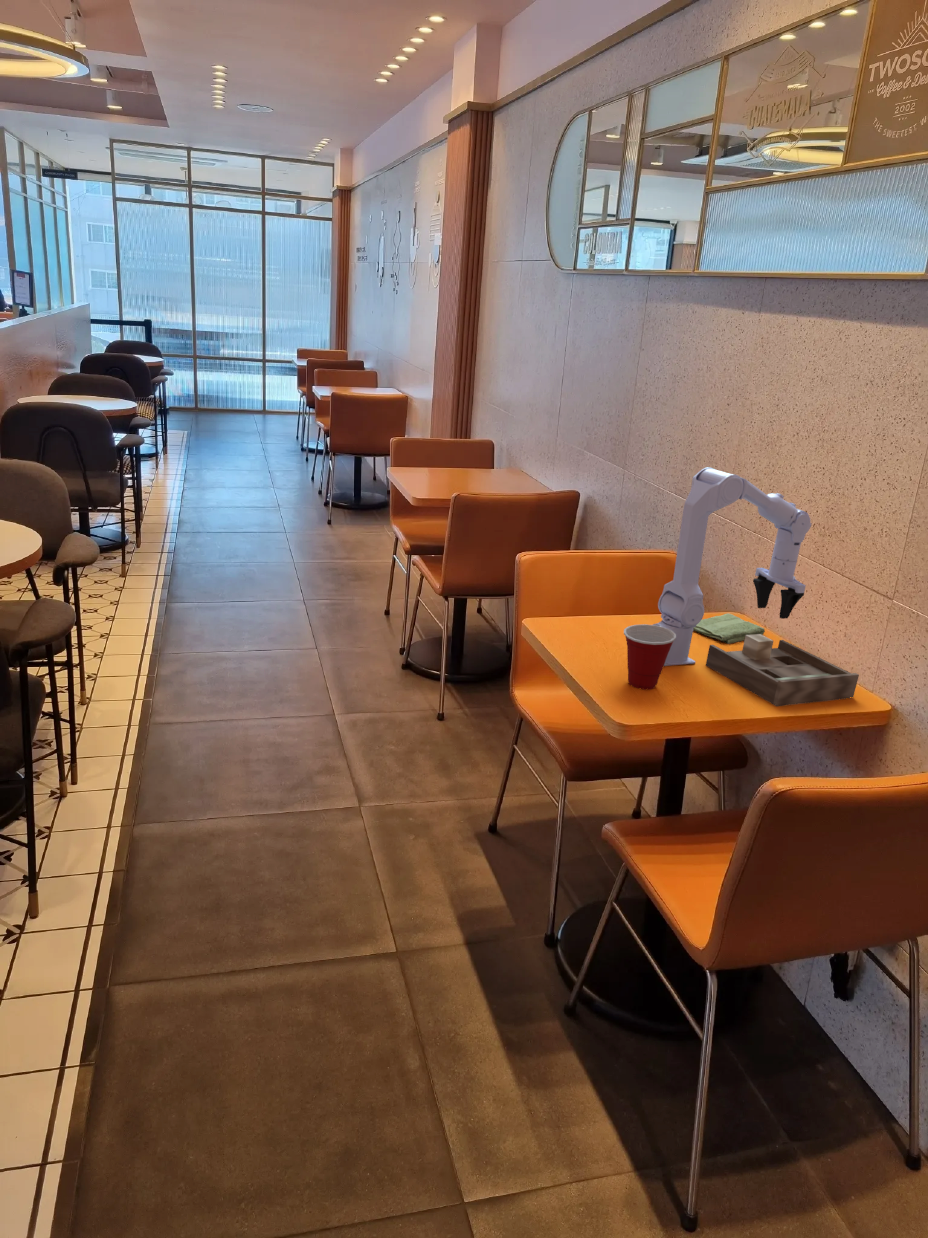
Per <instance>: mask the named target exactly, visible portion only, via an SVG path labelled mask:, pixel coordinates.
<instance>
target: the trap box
mask: <svg viewBox="0 0 928 1238" xmlns="http://www.w3.org/2000/svg"><path fill="white" fill-rule="evenodd" d="M705 666H706V667H707V668H710V669H711V670H713V671H715V672H716V673H718V674H720V675H721V676H724V677H725V678H727V679H728V680H730V681H732V682H734V683H735V684H737V685H739V686H740V687H742V688H744V689H745V690H747V691H749V692H751V693H752V694H755V696H758V697H759V698H761V699H763V700H764V701H766V702H767V703H770V704H772V705H773V706H775V707H784V706H793V705H800V704H801V705H803V704H811V703H821V702H830V701H837V700H839V699H840V700H847V699H846V698H849V699H851V698H850V697H853V698H854V696H855V693H856V688H857V684H858V681H859V677H860V674H859V673H856V672H852V673H851V672H849V671H847V670H846V669H843V668H841V667H840V666H838V665H835V664H833V663H831V662H829V661H827V660H824V659H823V658H821V657H819V656H816V655H815V654H813V653H811V652H809V651H807V650H805V649H802V648H801V647H798V646H797V645H794V644H792V643H790V642H788V641H786V640H785V639H779V642H778V646H777V647H774V648H773V647H772V650H771V655H770V659H760V660H754V659H752V658H750V657H749V656H747V655H745V654H743V653H742V650H731V651H726V650H724V649H722V648H720V647H718V646H716V645H714V644H709V646H708V652H707V656H706V661H705ZM840 700H839V701H840Z"/></svg>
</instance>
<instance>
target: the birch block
mask: <svg viewBox="0 0 928 1238" xmlns="http://www.w3.org/2000/svg"><path fill="white" fill-rule="evenodd" d="M773 646H774V640H773V639H771V638H769V637H767V636H765V635H764V634H763V635H761V634H754V635H746V636H745V640H744V641H743V646H742V650H741V651H742V653H743V654H745V655H747V656H749V657H750V658H752V659H754V660H760V659H770V655H771V650H772V648H773Z"/></svg>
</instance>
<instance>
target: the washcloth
mask: <svg viewBox="0 0 928 1238" xmlns="http://www.w3.org/2000/svg"><path fill="white" fill-rule="evenodd" d="M693 632H696V633H699V634H702V635H704V636H706V637H710V638H711V639H716V640H717V641H720V642H722V643H725V644H727V645H730V644H734V643H740V642H744V640H745V636H746V635H754V634H761V635H763V636H764V633H766V631H765V628H764V627H762V626H760V625H757V624H755V623H753V622H750V621H746V620H745V619H742V618H740V617H739V616H736V615H734V614H733V613H729V612H728V613H724V614H722V615H715V616H712V617H708V618H702V620H701V621H700V622H699V623H698V624H697V625H696V627H694V628H693Z"/></svg>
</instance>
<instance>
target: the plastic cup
mask: <svg viewBox="0 0 928 1238" xmlns="http://www.w3.org/2000/svg"><path fill="white" fill-rule="evenodd" d="M623 635H624V636H625V640H626V646H627V650H626V651H627V654H626V655H627V681H628V682H629V683H628V684H629V685H630V686H631V685H632V686H631V687H633V688H635V687H636V689H638V688H641V689H640V690H644V691H645V690H646V689H647V690H653V689H655V688H656V686H657V684H658V683H659V679H660V675H661V674H662V672H663V669H664V667H665V666H664V664H665V661H666V658H667V655H668V652H669V651H670V648H671V646H672V643H673V641H674V640H675V639H676V634H675V633H674V632H673V631H672V630H669V629H667V628H665V627H660V626H656V625H653V624H646V623H644V624H643V623H642V624H633V625H628V626H627V627H625V628H624V629H623ZM647 690H646V691H647Z"/></svg>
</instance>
